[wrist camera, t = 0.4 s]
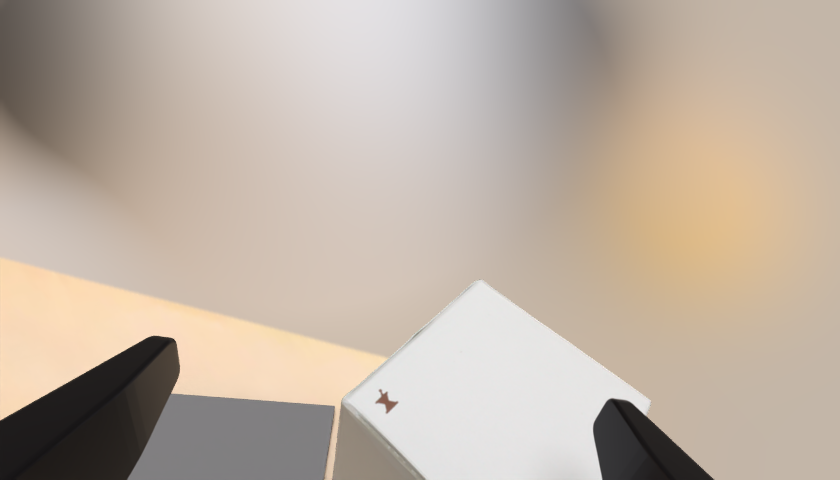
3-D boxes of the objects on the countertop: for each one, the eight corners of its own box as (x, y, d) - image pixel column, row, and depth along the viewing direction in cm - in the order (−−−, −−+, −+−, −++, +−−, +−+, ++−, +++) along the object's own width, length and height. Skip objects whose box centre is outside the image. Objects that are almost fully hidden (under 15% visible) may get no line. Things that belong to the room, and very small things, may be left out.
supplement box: (439, 664, 17) (565, 641, 8) (323, 518, 20) (331, 393, 11) (525, 512, 21) (661, 401, 13) (421, 413, 24) (478, 270, 16)
